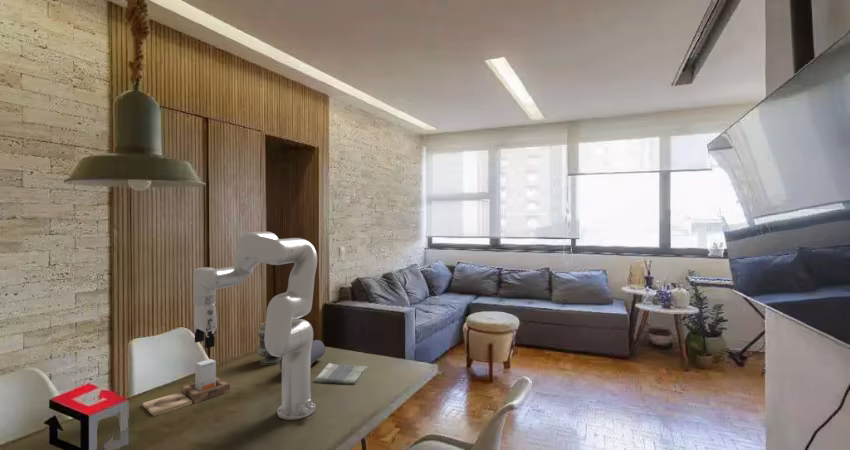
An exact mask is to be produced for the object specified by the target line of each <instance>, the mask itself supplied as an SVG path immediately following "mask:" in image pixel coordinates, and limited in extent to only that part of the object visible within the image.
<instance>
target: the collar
mask: <svg viewBox="0 0 850 450" xmlns="http://www.w3.org/2000/svg"><path fill="white" fill-rule="evenodd" d="M230 387H231V385H230V383H228V382H226V381H224V379H221V378H219V377H218V376H216V387H212V388H209V389H206V390H202V391H199V392H198V391H197V390H195V381H194V382H191V383H188V384H183V385H181V393H182V394H183V395H185V396H186V397H187V398H189V399H190V400H191V401H192V403H194V404H196V403H199V402H203V401H206V400H209V399H213V398H216V397H218V396H222V395H224V394H228V393H230V390H231V388H230Z"/></svg>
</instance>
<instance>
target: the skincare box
mask: <svg viewBox="0 0 850 450" xmlns="http://www.w3.org/2000/svg"><path fill="white" fill-rule="evenodd" d="M194 366H195V370H194V371H195V372H194V373H195V374H194V375H195V376H194V379H195V381H194V382H195V390H197V391H198V392H199V391H202V390H206V389H209V388H212V387H216V377H217V361H216V360H214V359H212V358H209V359H206V360H201V361H198V362H196V363H195V365H194Z"/></svg>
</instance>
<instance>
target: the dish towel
mask: <svg viewBox="0 0 850 450" xmlns="http://www.w3.org/2000/svg"><path fill="white" fill-rule="evenodd" d="M368 370H369V367H368V366H367V365H356V364H355V365H354V364H345V363H340V362H339V363H338V364H336V363H331V362H328V363H327V364H326V366H325V367H324V368H323V369H322V370H321V372H319V374H318V375H317V376H316V377H315V378H314V383H317V384H334V385H335V384H336V385H347V384H348V386H349V385H352V386H355V385H356V384H357V383H359V381H360V380H361V379H362V378H363V377H364V375H365V374H366V373H367V371H368ZM359 379H360V380H359ZM358 380H359V381H358Z"/></svg>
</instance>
